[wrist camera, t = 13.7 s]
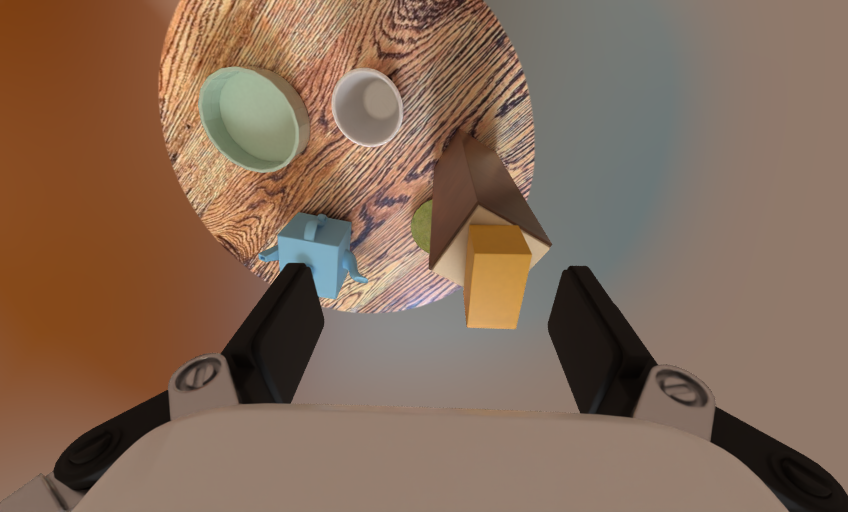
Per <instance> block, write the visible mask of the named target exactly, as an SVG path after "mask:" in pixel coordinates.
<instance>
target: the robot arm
mask: <svg viewBox="0 0 848 512" xmlns="http://www.w3.org/2000/svg"><path fill="white" fill-rule="evenodd" d="M323 327H324V316H323V313H322V309H321V305H320V301H319V297H318V294H317V290H316V286H315V282H314V279H313V275H312V271H311V268H310V267H307V266H306V264H305V263H287V264H286V265H285V267H284V268H283V269H282V271H281V272H280V273H279V275H278V276H277V278H276V279H275V280H274V282H273V283H272V284H271V286H270V287H269V288H268V290H267V291H266V292H265V294H264V295H263V297H262V298H261V299H260V301H259V302H258V303H257V305H256V306H255V307H254V309H253V310H252V311H251V313H250V314H249V316H248V317H247V318H246V320H245V321H244V322H243V324H242V325H241V327H240V328H239V329H238V330H237V332H236V333H235V335H234V336H233V337H232V339H231V340H230V341H229V343H228V344H227V346H226V347H225V348H224V350H223V351H222V352H221V354H218V353H208V354H203V355H200V356H197V357H195V358H193V359H191V360H189V361H187V362H186V363H184V364H183V365H182V366H180V367H179V368H178V369H177V370H176V371H175V373H174V374H173V375H172V377H171V379H170V381H169V385H168V390H166V391H164V392H162V393H161V394H159V395H157V396H155V397H153V398H151V399H149V400H147V401H145V402H143V403H141V404H139V405H137V406H135V407H133V408H132V409H130V410H128V411H126V412H124V413H122V414H120V415H118V416H116V417H114V418H112V419H110V420H108V421H106V422H104V423H103V424H101V425H99V426H97V427H95V428H93V429H91V430H90V431H88V432H86V433H85V434H83V435H82V436H80V437H79V438H78V439H76V440H75V441H74V442H73V443H71V444H70V446H69V447H68V448H67V449H66V450H65V451H64V452H63V453H62V454H61V456H60V457H59V459H58V460H57V462H56V464H55V467H54V470H53V471H52V472H51V473H50V474H48V475H47V476H44V475H43V474H39V475H38V476H36V477H35V478H34V479H32V480H31V481H29V482H28V483H27V484H25V485H24V486H22V487H21V488H19V489H18V490H17V491H15V492H14V493H12V494H11V495H10V496H8V497H7V498H5V499H4V500H2V501H1V502H0V512H848V495H847V494H846V492H845V491H844V489H843V488H842V486H841V485H840V484H839V483H838V482H837V481H836V480H835V479H834V477H833V476H832V475H831V474H830V473H828V472H827V471H826V470H825V469H823V468H822V467H821V466H820V465H819V464H817V463H816V462H814V461H812V460H811V459H809V458H808V457H806V456H805V455H803V454H801V453H799V452H797V451H796V450H794V449H792V448H790V447H788V446H787V445H785V444H783V443H781V442H779V441H777V440H776V439H774V438H772V437H770V436H768V435H767V434H765V433H763V432H761V431H759V430H757V429H756V428H754V427H752V426H750V425H748V424H747V423H745V422H743V421H741V420H739V419H738V418H736V417H734V416H732V415H730V414H728V413H727V412H725V411H723V410H721V409H719V408H717V407H716V406H715V405H716V404H715V397H714V395H713V394H712V391H711V390H710V389H709V387H708V386H707V385H706V384H705V383H704V382H703V381H702V380H700V379H699V378H698V377H697V376H695V375H694V374H692V373H690V372H688V371H686V370H684V369H682V368H679V367H676V366H672V365H667V364H666V365H658V364H657V363H656V361H655V360H654V358H653V357H652V356H651V354H650V353H649V351H648V350H647V348H646V347H645V346H644V344H643V343H642V341H641V340H640V339H639V337H638V336H637V334H636V333H635V332H634V330H633V329H632V327H631V326H630V324H629V323H628V321H627V320H626V319H625V317H624V316H623V314H622V313H621V311H620V310H619V309H618V307H617V306H616V305H615V304H614V303H613V302H612V300H611V299H610V297H609V296H608V294H607V293H606V292H605V290H604V289H603V287H602V286H601V284H600V283H599V282H598V280H597V279H596V277H595V276H594V274H593V273H592V272H591V270H590V269H589V268H588V267H587V266H569V267H568V269H567V270H564V271H563V272H562V276H561V279H560V282H559V286H558V289H557V293H556V297H555V300H554V304H553V307H552V311H551V314H550V318H549V321H548V332H549V335H550V337H551V340H552V342H553V345H554V347H555V350H556V352H557V355H558V357H559V360H560V363H561V365H562V368H563V370H564V373H565V375H566V378H567V381H568V383H569V386H570V388H571V391H572V393H573V396H574V398H575V401H576V404H577V406H578V409H579V411H580V413H561V412H542V411H539V412H538V411H514V410H489V409H462V408H432V407H402V406H369V405H366V406H365V405H332V404H330V405H329V404H291V401H292V399H293V396H294V394H295V392H296V390H297V387H298V385H299V383H300V381H301V378H302V376H303V373H304V371H305V369H306V367H307V364H308V362H309V360H310V357H311V355H312V353H313V350H314V348H315V346H316V343H317V341H318V339H319V336H320V334H321V332H322V329H323Z"/></svg>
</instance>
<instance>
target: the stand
mask: <svg viewBox="0 0 848 512" xmlns="http://www.w3.org/2000/svg"><path fill="white" fill-rule="evenodd" d="M469 225H518V226H519V227H520V230H521V232H522V234H523V236H524V238H525V240H526V242H527V244H528V246H529V249H530V251H531V253H532V258H531V263H530V267H529V270H530V269H531V268H532V267H533V266H534V265H535V264H536V263H537V262H538V261H539V260H540V259H541V258H542V257H543V255H544V254H545V253H546V252H547V251H548V250H549V249H550V247H551V245H552V243H551V242H550V240H549V238H548V237H547V235H546V233H545V232H544V230H543V228H542V227H541V225H540V223H539V222H538V220H537V219H536V217H535V215H534V214H533V212H532V210H531V209H530V207H529V206H528V204H527V202H526V200H525V199H524V197H523V195H522V194H521V192H520V191H519V189H518V187H517V186H516V184H515V182H514V181H513V179H512V177H511V176H510V174H509V172H508V171H507V169H506V167H505V166H504V164H503V163H502V161H501V159H500V158H499V156H498V154H497V153H496V152H495V151H494V150H492V149H490V148H489V147H487V146H486V145H484V144H483V143H481V142H480V141H478V140H476V139H475V138H473V137H472V136H470V135H469V134H467V133H466V132H464V131H462V130H461V129H459V128H458V129H457V131H456V132H455V134H454V136H453V137H452V139H451V141H450V142H449V144H448V146H447V147H446V149H445V151H444V152H443V154H442V156H441V157H440V159H439V161H438V162H437V164H436V166H435V167H434V180H433V199H432V217H431V236H430V255H429V269H430V270H432V272H434V273H436V274H438V275H440V276H442V277H444V278H446V279H448V280H450V281H452V282H454V283H456V284H458V285H460V286H462V287H464V280H465V268H466V256H467V245H468V233H469Z"/></svg>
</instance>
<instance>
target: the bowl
mask: <svg viewBox="0 0 848 512" xmlns="http://www.w3.org/2000/svg"><path fill="white" fill-rule="evenodd" d="M198 107H199V113H200V119H201V123H202V125H203V127H204V129H205V131H206V133H207V136H208V138H209V139H210V140H211V142H212V143H213V144H214V145H215V147H216V148H217V149H218V151H219V152H220V153H222V154H223V155H224V156H225V157H226V158H228V159H229V160H230V161H231V162H233V163H234V164H236V165H238V166H240V167H242V168H244V169H246V170H250V171H255V172H260V173H265V172H275V171H277V170H279V169H281V168H283V167H285V166H287V165H288V164H290V163H291V162H292V161H294V160H295V159H297V158H298V156H300V155H301V153H302V152H303V151H304V149H305V148H306V146H307V143H308V140H309V136H310V122H309V116H308V112H307V110H306V107H305V105H304V103H303V101H302V99H301V97H300V96H299V94H298V93H297V92H296V90H295V89H294V88H293V87H292V86H291V85H290V84H289V83H288V82H287V81H286V80H285V79H284V78H282V77H281V76H279V75H278V74H276V73H274V72H272V71H270V70H268V69H265V68H261V67H255V66H235V67H227V68H221V69H219V70H217V71H216V72H214V73H212V74H211V75H209V76H208V77H207V79H206V80H205V82H204V84H203V85H202V87H201V89H200V94H199V101H198Z"/></svg>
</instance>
